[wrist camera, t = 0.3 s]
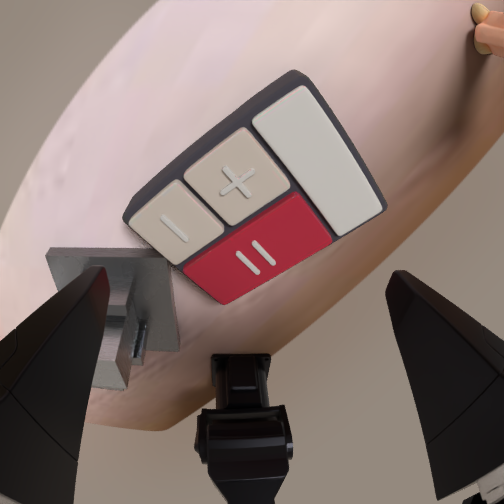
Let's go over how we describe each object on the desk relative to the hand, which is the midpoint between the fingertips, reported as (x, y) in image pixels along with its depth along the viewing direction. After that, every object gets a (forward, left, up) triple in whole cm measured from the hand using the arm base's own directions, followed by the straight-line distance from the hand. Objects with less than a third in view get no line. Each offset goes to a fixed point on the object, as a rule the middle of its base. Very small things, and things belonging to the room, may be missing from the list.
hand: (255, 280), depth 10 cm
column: (-15, +11, -13) cm, 23 cm away
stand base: (-15, +11, -14) cm, 23 cm away
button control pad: (-4, -1, -15) cm, 15 cm away
